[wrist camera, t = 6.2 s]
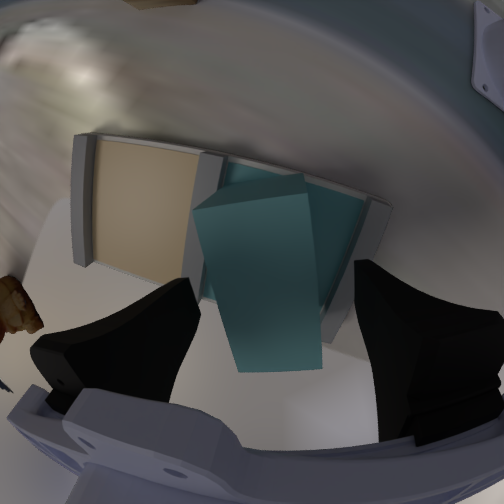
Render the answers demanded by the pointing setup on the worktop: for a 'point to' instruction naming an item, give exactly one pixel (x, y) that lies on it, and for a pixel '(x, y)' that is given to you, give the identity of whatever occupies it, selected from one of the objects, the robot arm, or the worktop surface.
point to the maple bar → (158, 3)
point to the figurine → (16, 309)
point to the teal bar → (264, 272)
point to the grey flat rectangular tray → (182, 222)
